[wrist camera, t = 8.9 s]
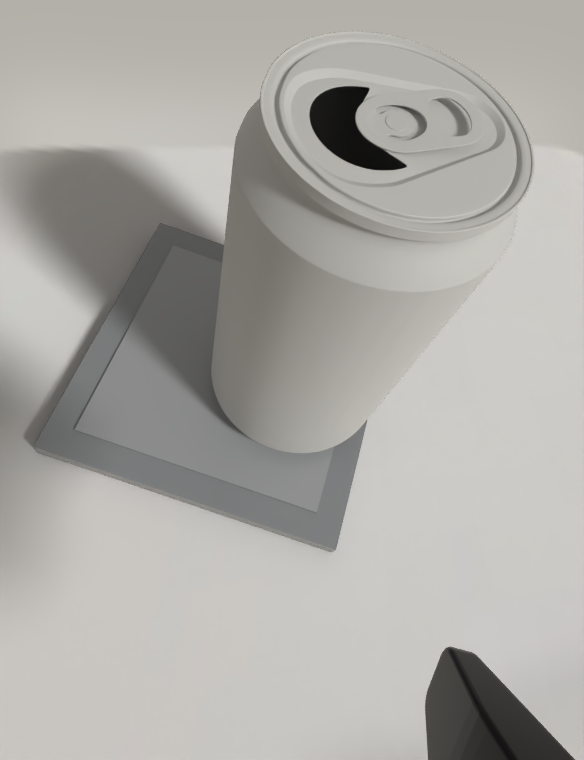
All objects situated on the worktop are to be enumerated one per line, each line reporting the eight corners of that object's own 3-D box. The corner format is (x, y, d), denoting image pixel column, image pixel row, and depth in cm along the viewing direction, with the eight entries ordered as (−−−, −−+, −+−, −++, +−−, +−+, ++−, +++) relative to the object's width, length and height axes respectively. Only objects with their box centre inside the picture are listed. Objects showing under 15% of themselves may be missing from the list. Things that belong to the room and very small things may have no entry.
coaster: (331, 552, 19) (336, 549, 18) (37, 452, 19) (32, 445, 18) (390, 313, 24) (395, 305, 24) (161, 232, 24) (160, 221, 23)
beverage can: (195, 325, 21) (205, 10, 11) (342, 304, 23) (477, 17, 12) (231, 477, 19) (290, 263, 8) (392, 441, 21) (614, 226, 10)
